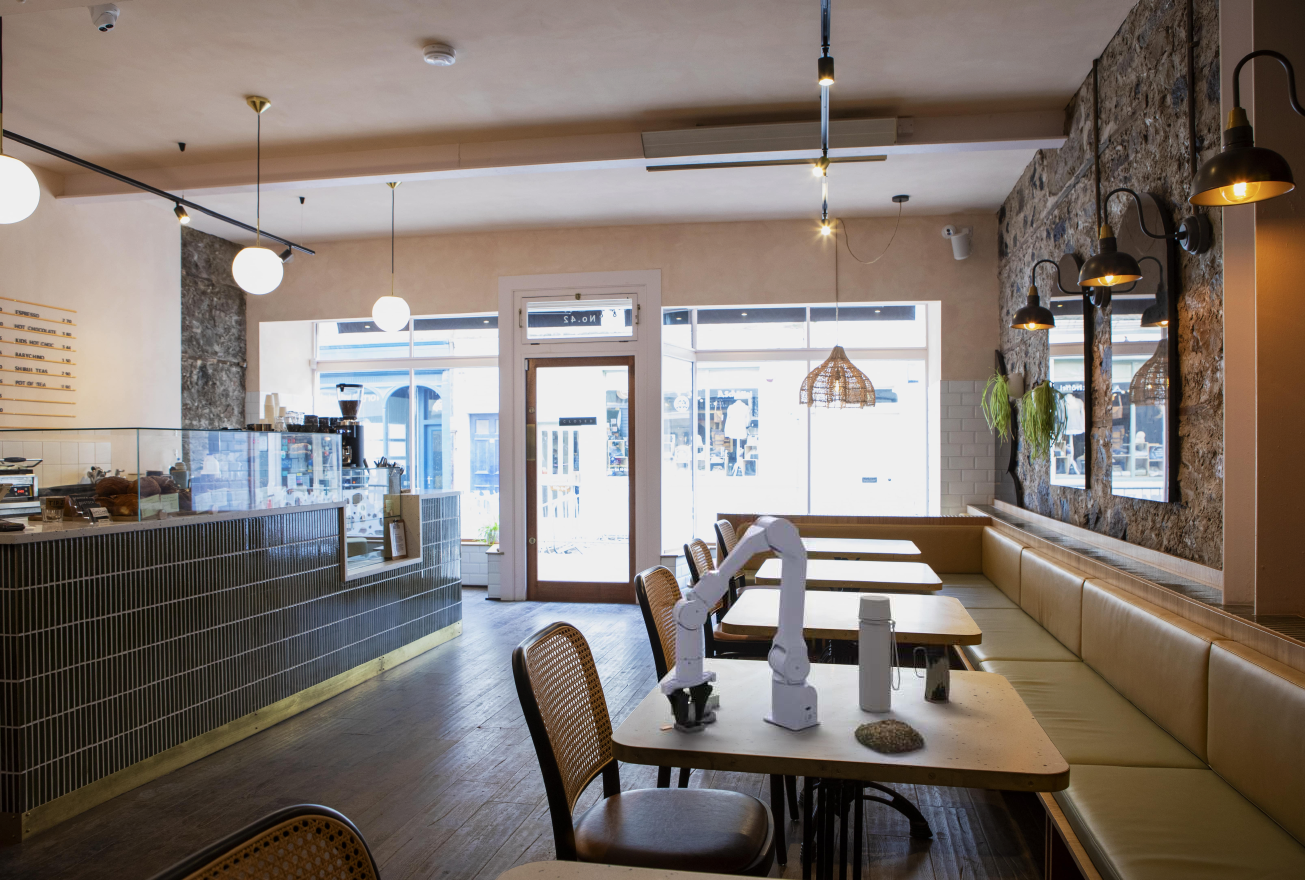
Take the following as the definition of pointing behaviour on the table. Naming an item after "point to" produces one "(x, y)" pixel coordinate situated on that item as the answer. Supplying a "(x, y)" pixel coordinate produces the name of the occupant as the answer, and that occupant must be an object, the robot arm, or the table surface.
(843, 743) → the table surface
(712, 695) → the tray
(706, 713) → the crank
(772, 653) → the robot arm
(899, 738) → the brown rock
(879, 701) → the water bottle
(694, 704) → the stop pin
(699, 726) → the crank base
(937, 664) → the mug
